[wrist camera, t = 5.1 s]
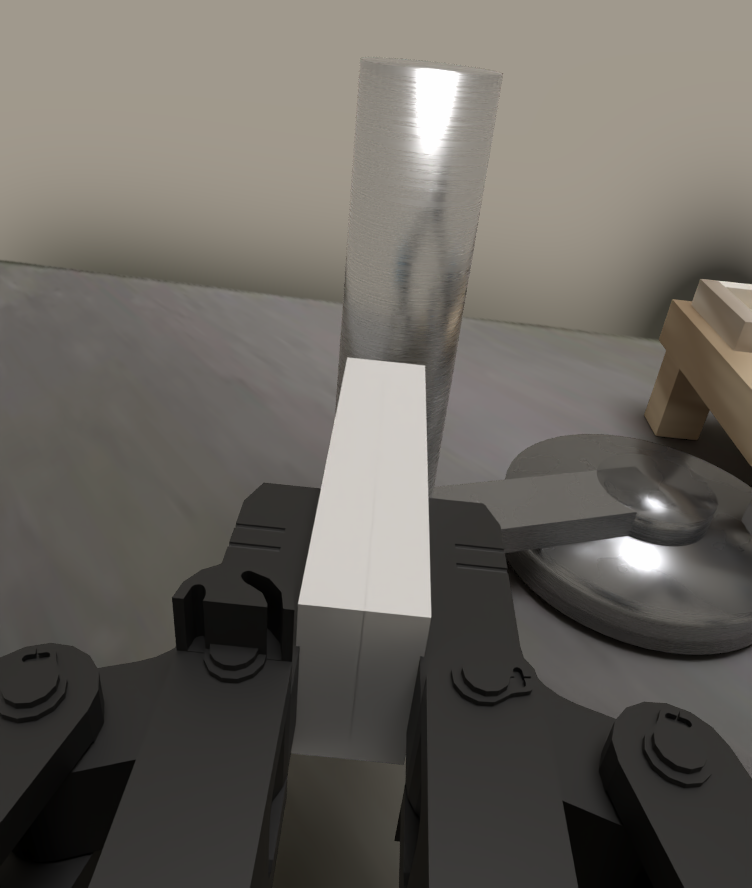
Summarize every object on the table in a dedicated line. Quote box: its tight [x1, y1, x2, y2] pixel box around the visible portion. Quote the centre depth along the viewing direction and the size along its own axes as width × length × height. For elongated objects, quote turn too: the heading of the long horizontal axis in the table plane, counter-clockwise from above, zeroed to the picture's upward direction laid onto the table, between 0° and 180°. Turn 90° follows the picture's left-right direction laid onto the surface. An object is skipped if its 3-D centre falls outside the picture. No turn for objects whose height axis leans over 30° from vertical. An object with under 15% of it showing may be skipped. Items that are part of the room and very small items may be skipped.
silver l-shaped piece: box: [335, 57, 752, 655], centre depth 20 cm, size 16×10×15 cm, turn 107°
